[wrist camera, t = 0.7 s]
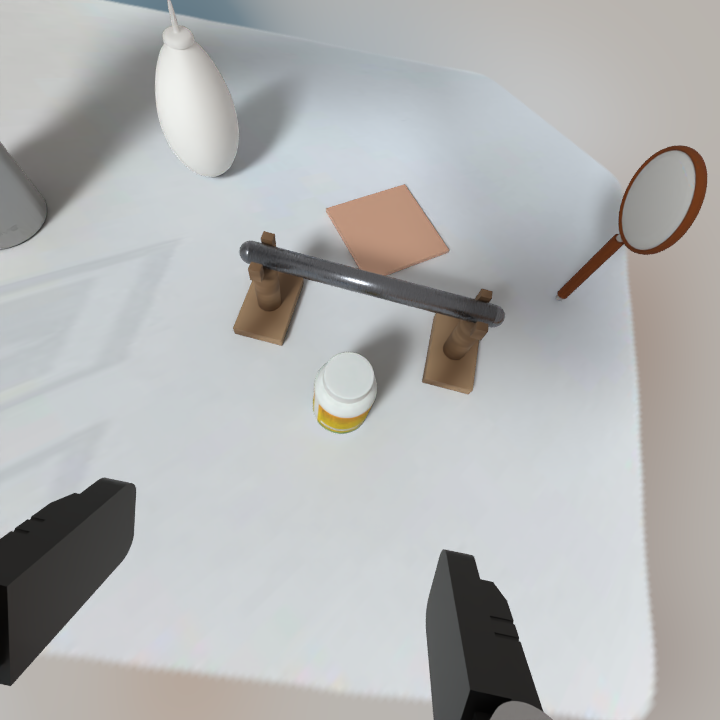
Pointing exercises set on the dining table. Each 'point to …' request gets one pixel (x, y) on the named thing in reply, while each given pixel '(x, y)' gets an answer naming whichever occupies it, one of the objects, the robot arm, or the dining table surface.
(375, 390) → the supplement bottle
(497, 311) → the bar
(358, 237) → the tile
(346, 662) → the dining table surface
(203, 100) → the white air blower bulb
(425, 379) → the hurdle stand
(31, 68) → the dining table surface
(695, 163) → the magnifying glass
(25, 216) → the robot arm
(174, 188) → the dining table surface
